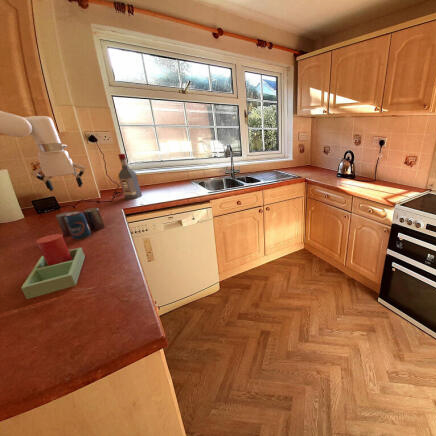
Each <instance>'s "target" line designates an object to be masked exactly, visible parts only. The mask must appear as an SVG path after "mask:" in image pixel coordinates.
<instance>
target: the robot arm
mask: <svg viewBox="0 0 436 436" xmlns="http://www.w3.org/2000/svg"><path fill="white" fill-rule="evenodd" d="M0 134H3V135H7V136H10V137H14V138H25V137H28V136H32V138H33V140H34V143H35V145H36V147H37V149H38V152H37V158H38V161H39V166H40V167H38V168H37V169H35V170H33V171H32V172H31V174H32V176H34V177H35V178H36V179H37V180H40V181H42V182H43V183H44V184H45V187H46V188H47V190H49V191H50V192H53V191H54V190H55V188H54V186H53V183H52V181H51V180H50V178H53V177H61V176H71V175H72V176H73V177H75V181H76V183H77V185H78V187H79V188H82V187H83V184H84V182H83V181H82V178H81V177H82V176H83V175H84V173H85V170H86V167H85V166H83V165H80V164H76V163H74V162H73V160H72V158H71V156H70V154H69V152H68V151H67V150H65V149H66V148H68V145H67V144H63V143H62V141H61V140H60V137H59V134H58V131H57V129H56V127H55V123H54V121H53V119H52V117H50V116H47V115H31V116H30V115H29V116H21V115H17V114H14V113H10V112H5V111H3V110H0ZM77 169H79V170H80V171H79V172H77ZM41 172H42V174H43V175H44V176H42V175H41V174H39V173H41Z"/></svg>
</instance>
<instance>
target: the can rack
mask: <svg viewBox="0 0 436 436" xmlns="http://www.w3.org/2000/svg"><path fill="white" fill-rule="evenodd" d="M68 250H69V252H70V254H71V257H72V259H73V260H72V261H67V262H63V263H59V264H55V265H51V266H48V265H47V263H46V261H45V259H44V257H43V255H41V256H40V258H39V260H38V261H37V263H36V264H35V265H34V267H33V268H32V270H31V272H30V273H29V275H28V277H27V278H26V280H25V281H24V283H22V286H21V287H20V289H21V292H23V294H24V296H25V298H26V300H29V299H33V298H37V297H40V296H44V295H48V294H50V293H53V292H58V291H61V290H65V289H68V288H72V287H76V286H77V283H78V280H79V277H80V274H81V270H82V267H83V264H84V261H85V258H86V255H85V253H84V249H83V247H76V248H72V249H68Z"/></svg>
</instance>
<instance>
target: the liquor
mask: <svg viewBox="0 0 436 436" xmlns="http://www.w3.org/2000/svg"><path fill="white" fill-rule="evenodd" d="M118 159H119V161H120V164H121V170H120V171H119V173H118V179H119V182H120V186H121V189H122V192H123V196H124V198H125V199H126V200H134V199H138V198H141V197H142V196H143V195H142V190H141V186H140V182H139V179H138V175H137V173H136V171H134V170H133V169H132V168H130V167H129V165H128V162H127V158H126V154H125V153H118Z"/></svg>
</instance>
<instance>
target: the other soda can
mask: <svg viewBox="0 0 436 436" xmlns="http://www.w3.org/2000/svg"><path fill="white" fill-rule="evenodd" d="M35 242H36V244H37V246H38V248H39V251H40V252H41V254H42V256H43V257H44V259H45V261H46V263H47V265H48V266H51V265H55V264H59V263H63V262H67V261H72V260H73V259H72V257H71V254H70V252H69V250H70V249H69V247H68V245H67V243H66V240H65V239H64V235H63V234H62V233H55V234H50V235H45V236H43V237H40V238H38V239H37V240H36V241H35Z"/></svg>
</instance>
